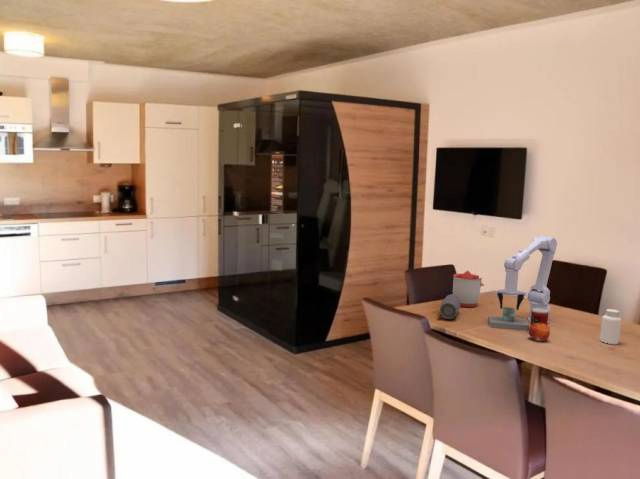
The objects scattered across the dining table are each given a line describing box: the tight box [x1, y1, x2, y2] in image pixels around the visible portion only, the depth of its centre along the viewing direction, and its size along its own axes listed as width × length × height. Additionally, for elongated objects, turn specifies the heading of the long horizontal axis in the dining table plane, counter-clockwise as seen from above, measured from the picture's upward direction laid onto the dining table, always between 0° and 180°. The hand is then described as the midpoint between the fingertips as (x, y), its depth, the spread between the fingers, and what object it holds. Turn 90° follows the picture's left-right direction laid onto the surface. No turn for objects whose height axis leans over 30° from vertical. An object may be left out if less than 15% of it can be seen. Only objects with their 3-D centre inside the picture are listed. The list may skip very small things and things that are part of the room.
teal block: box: [501, 306, 516, 322], centre depth 280 cm, size 5×5×6 cm
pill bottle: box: [599, 308, 623, 345], centre depth 257 cm, size 8×8×15 cm
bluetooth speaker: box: [439, 293, 461, 320], centre depth 294 cm, size 23×9×10 cm, turn 161°
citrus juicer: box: [452, 270, 485, 308], centre depth 319 cm, size 16×17×20 cm
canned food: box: [529, 308, 549, 327], centre depth 269 cm, size 8×8×11 cm
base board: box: [487, 315, 530, 332], centre depth 280 cm, size 18×13×2 cm
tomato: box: [528, 323, 551, 342], centre depth 257 cm, size 9×9×8 cm
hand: (509, 309), depth 279 cm, fingers open, 7 cm apart
